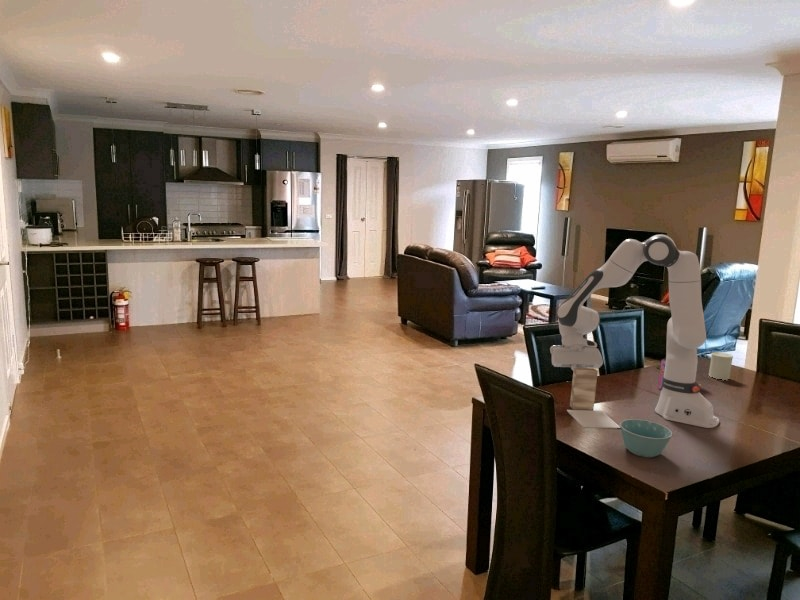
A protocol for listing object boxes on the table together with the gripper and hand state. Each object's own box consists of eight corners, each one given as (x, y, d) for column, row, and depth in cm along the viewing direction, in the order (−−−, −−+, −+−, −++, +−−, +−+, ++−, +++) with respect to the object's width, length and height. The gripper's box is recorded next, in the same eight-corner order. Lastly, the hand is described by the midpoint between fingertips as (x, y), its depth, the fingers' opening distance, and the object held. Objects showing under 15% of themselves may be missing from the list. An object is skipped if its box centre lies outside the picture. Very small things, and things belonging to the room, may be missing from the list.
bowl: (678, 462, 185) (682, 438, 184) (630, 462, 184) (634, 437, 183) (653, 442, 201) (656, 419, 199) (609, 441, 200) (612, 418, 198)
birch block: (569, 406, 233) (573, 367, 230) (589, 407, 233) (593, 368, 231) (573, 410, 229) (577, 370, 226) (593, 410, 229) (597, 371, 227)
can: (713, 373, 292) (716, 350, 290) (732, 378, 285) (736, 354, 283) (704, 376, 286) (708, 352, 284) (724, 381, 279) (728, 357, 277)
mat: (566, 410, 228) (566, 409, 228) (601, 411, 229) (601, 410, 229) (582, 427, 211) (583, 426, 211) (620, 428, 212) (620, 427, 212)
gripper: (551, 341, 239) (557, 371, 231) (600, 342, 240) (607, 372, 232) (546, 349, 244) (552, 378, 236) (594, 350, 245) (601, 380, 237)
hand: (580, 375), depth 234 cm, fingers closed
